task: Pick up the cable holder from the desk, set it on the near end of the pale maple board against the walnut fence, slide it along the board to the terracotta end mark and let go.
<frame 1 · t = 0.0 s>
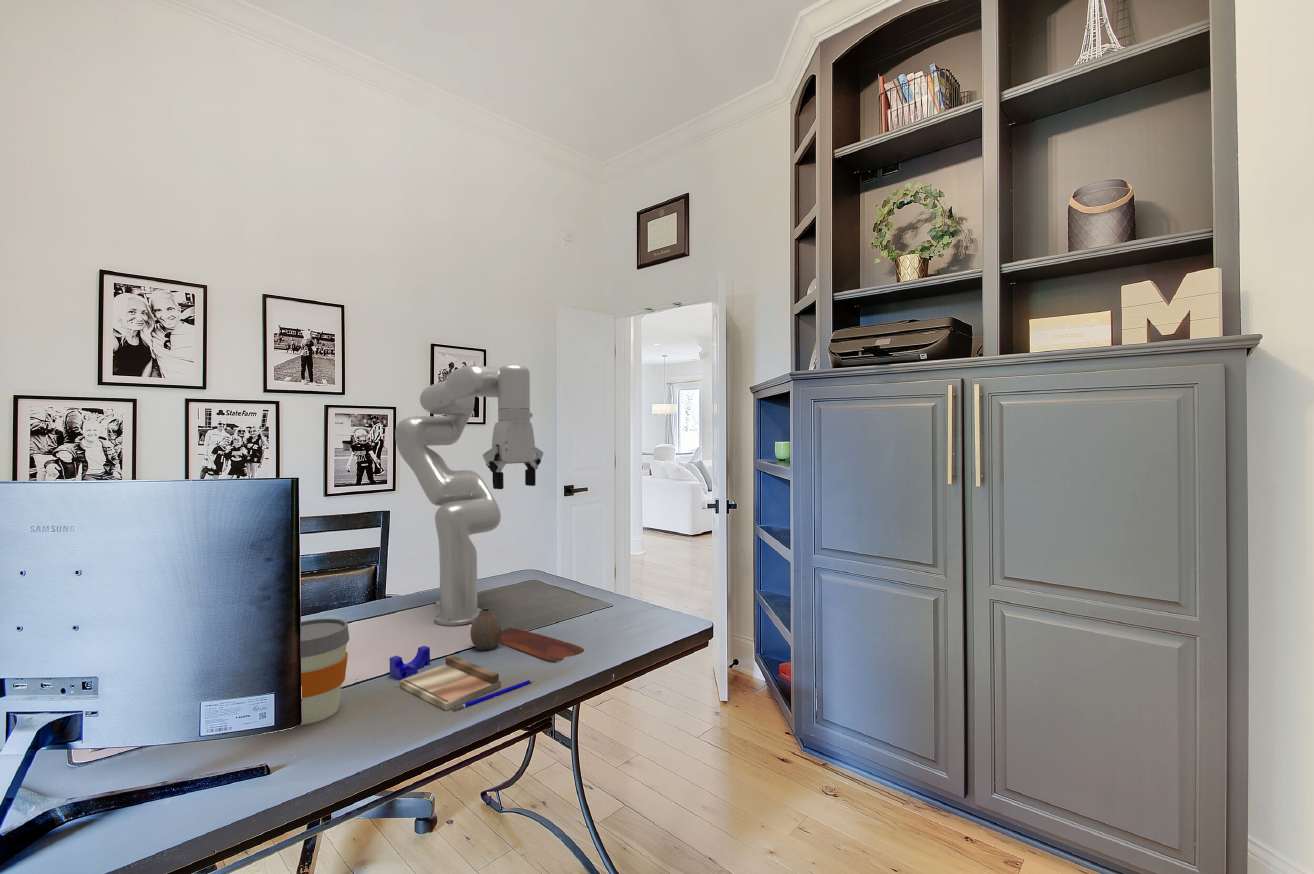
hand: (514, 487, 138), 37 cm above the table, tool pointing down, fingers open, 9 cm apart
pencil: (495, 698, 108), on the table
vase: (486, 647, 133), on the table
reusable coffee cup: (310, 713, 102), on the table
wooden tablet: (532, 646, 135), on the table
cable holder: (412, 673, 120), on the table
maple board: (450, 686, 112), on the table
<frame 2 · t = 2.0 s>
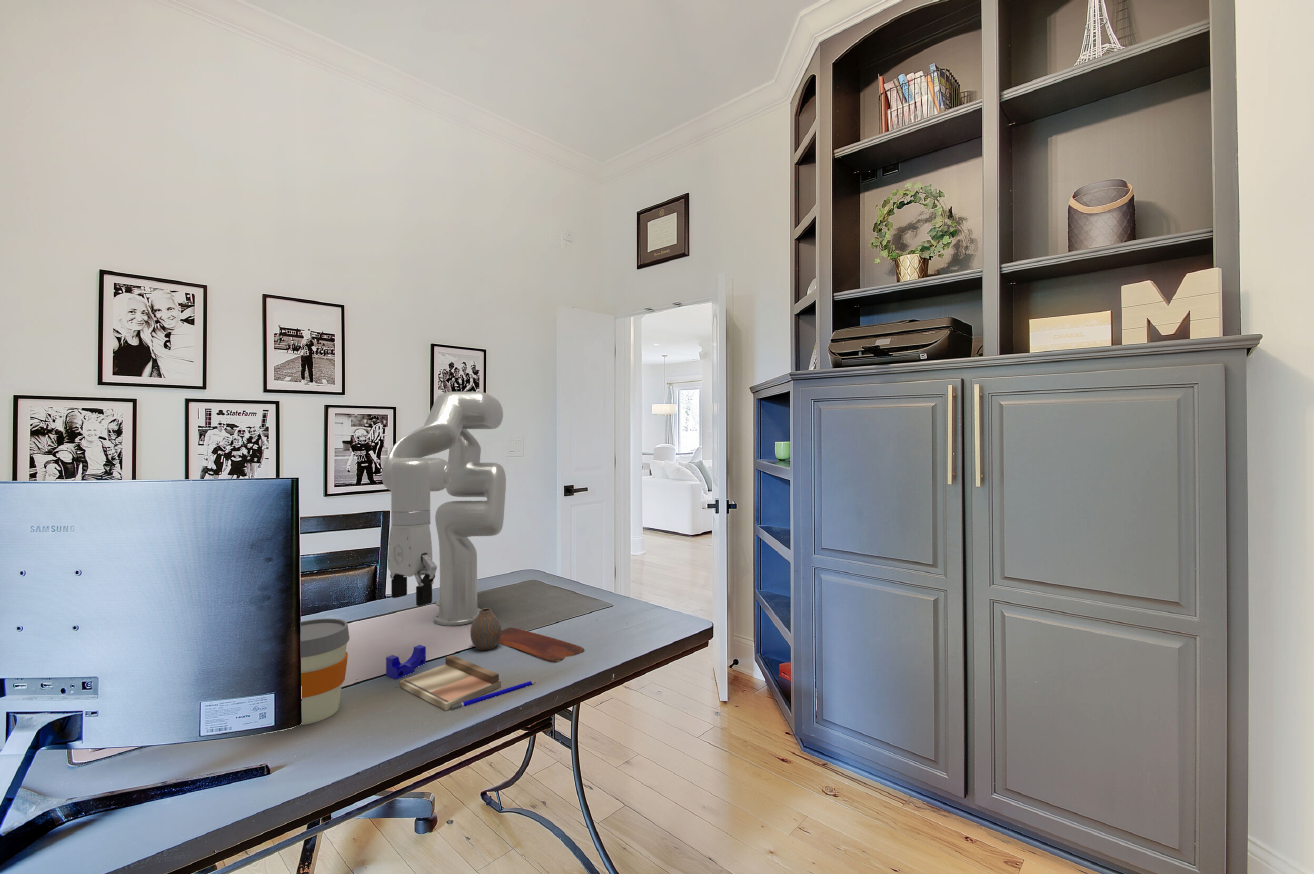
hand: (411, 600, 119), 15 cm above the table, tool pointing down, fingers open, 9 cm apart
cable holder: (408, 672, 120), on the table
everything else where it was.
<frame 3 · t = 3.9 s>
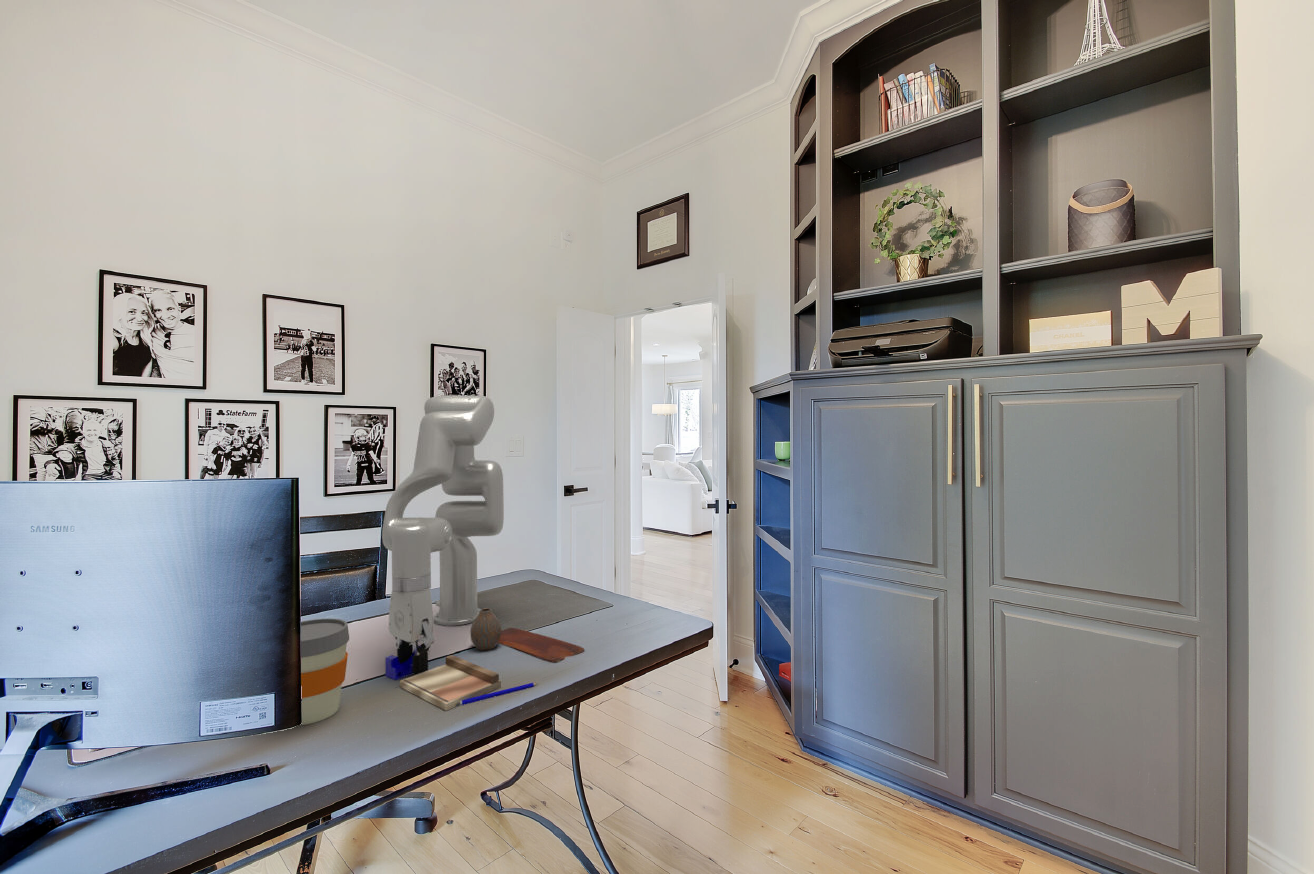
hand: (412, 667, 120), 1 cm above the table, tool pointing down, fingers open, 5 cm apart
cable holder: (408, 672, 120), on the table, touching gripper
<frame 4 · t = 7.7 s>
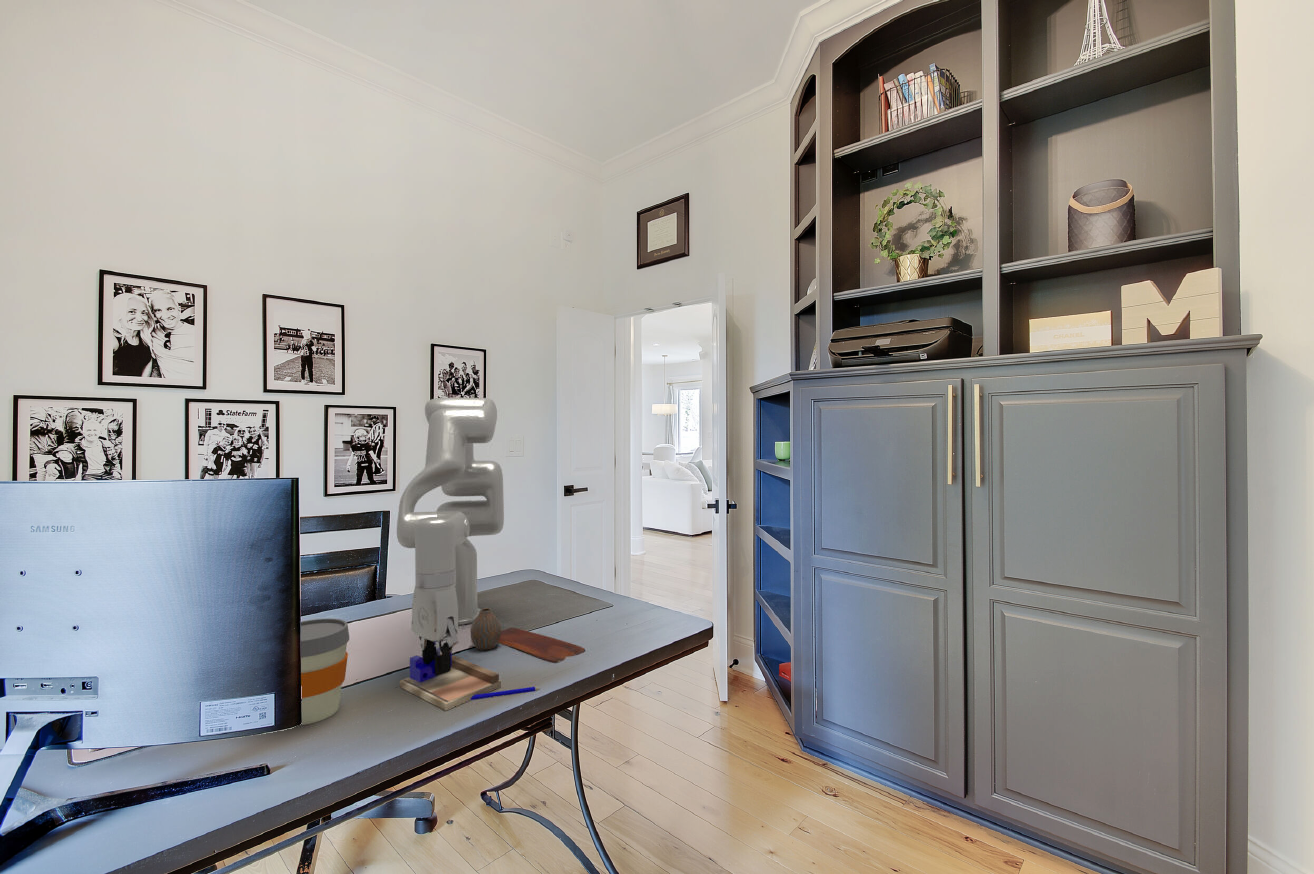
hand: (436, 669, 114), 3 cm above the table, tool pointing down, fingers closed on cable holder, 3 cm apart
cable holder: (433, 674, 114), point 2 cm above the table, touching gripper
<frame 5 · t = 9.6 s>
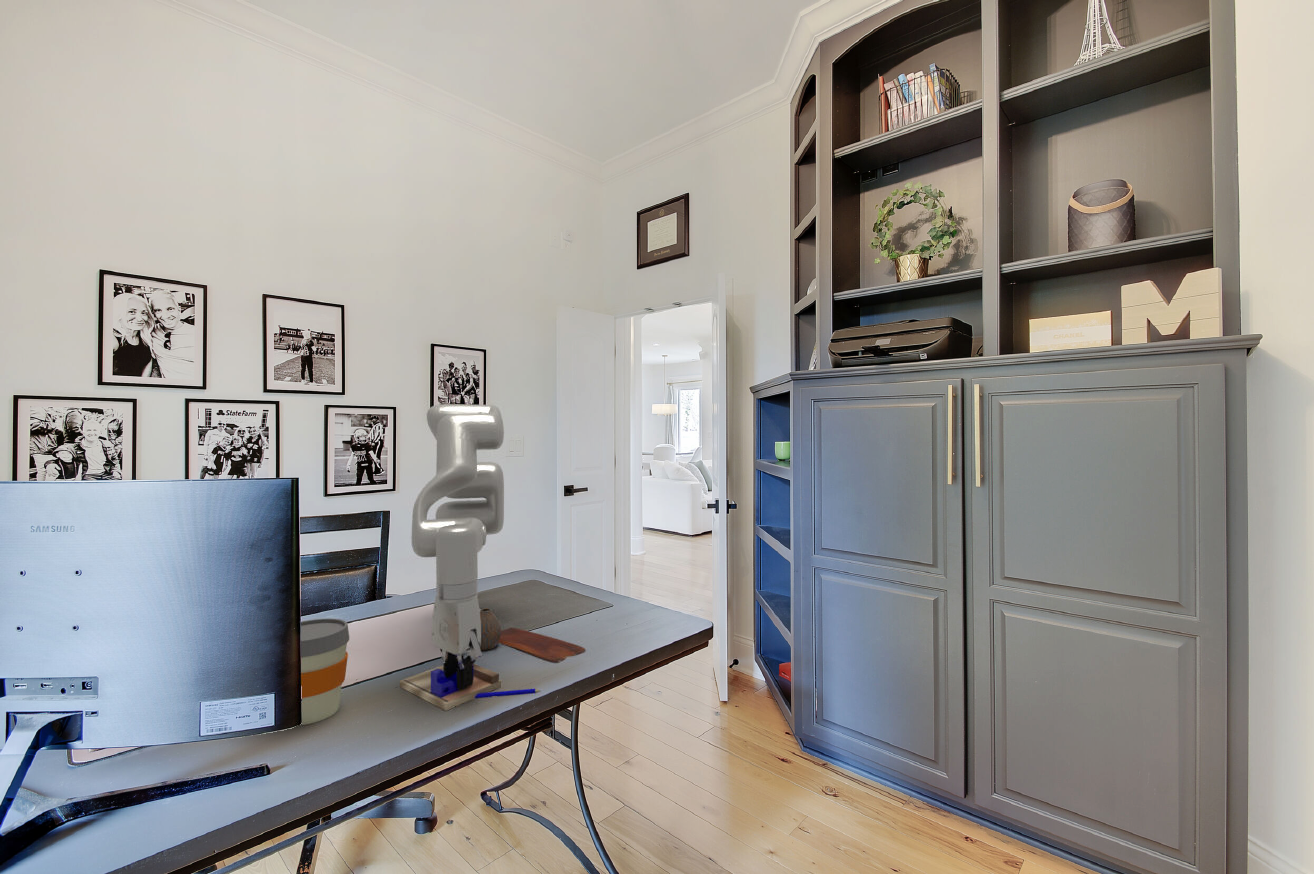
hand: (458, 682, 110), 2 cm above the table, tool pointing down, fingers closed on cable holder, 3 cm apart
cable holder: (454, 688, 109), point 1 cm above the table, touching gripper
when the fingers open (2 cm above the table, at t = 10.9 s): cable holder stays where it is, resting on maple board.
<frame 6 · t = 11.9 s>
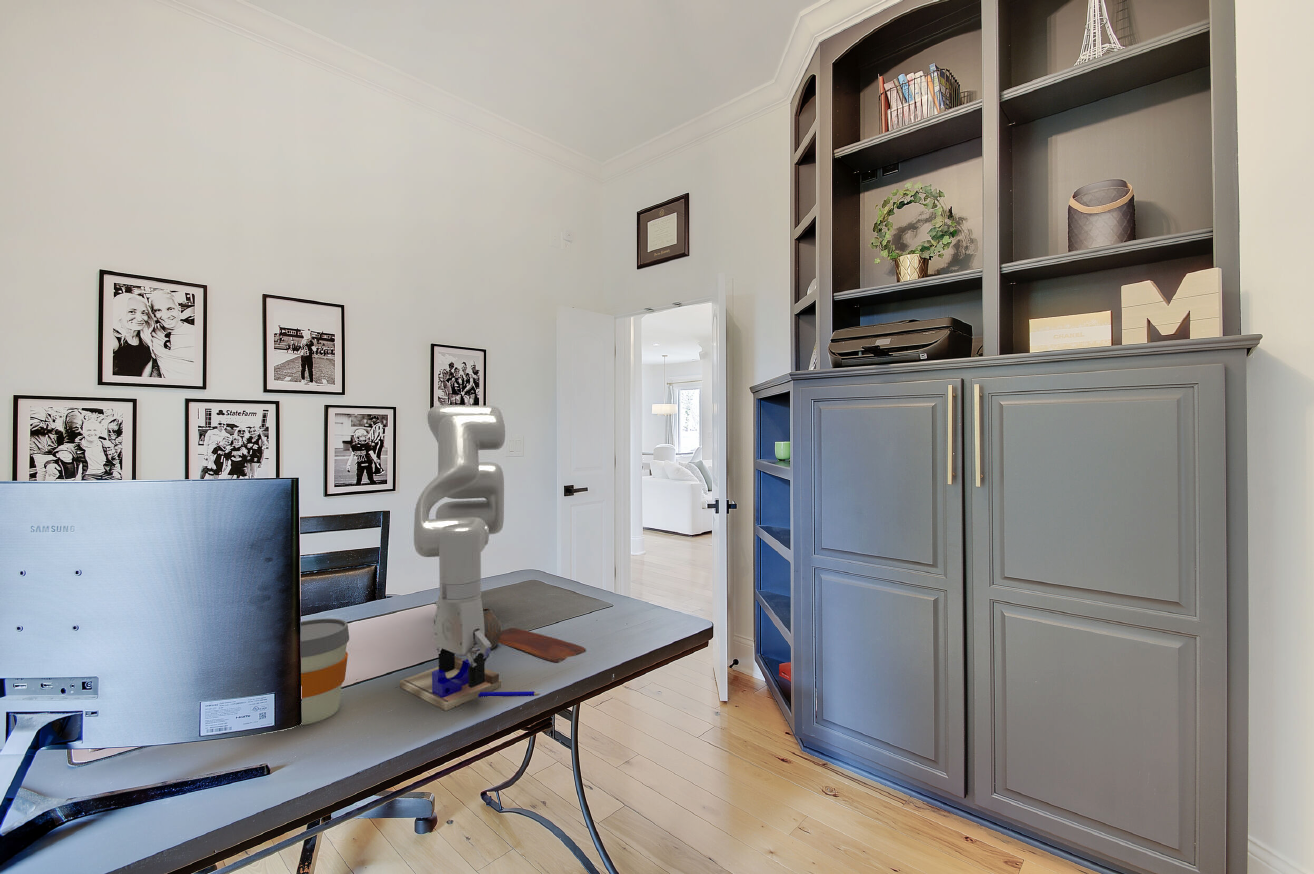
hand: (461, 677, 109), 3 cm above the table, tool pointing down, fingers open, 9 cm apart
cable holder: (456, 688, 109), point 1 cm above the table, touching maple board
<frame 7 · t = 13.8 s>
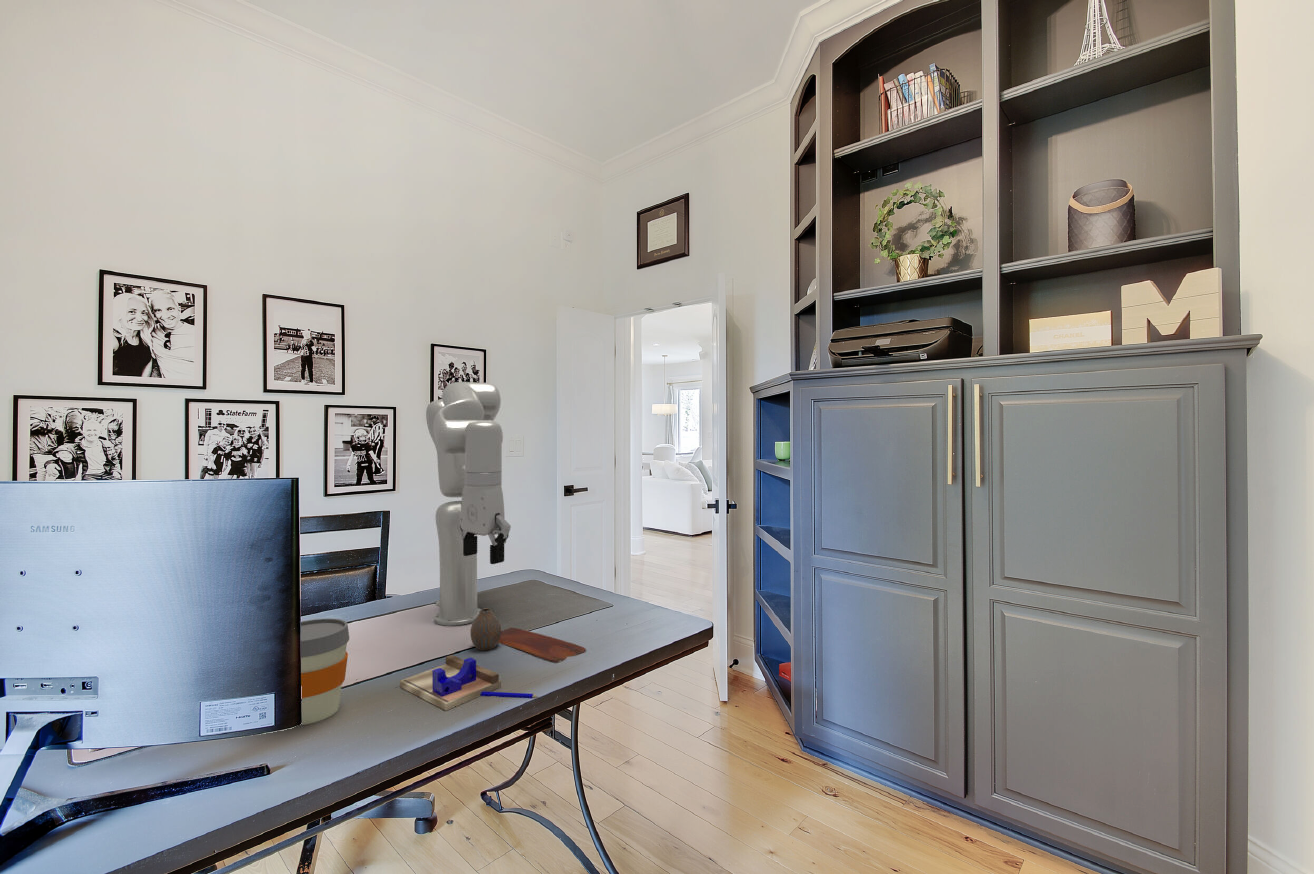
hand: (483, 558, 122), 23 cm above the table, tool pointing down, fingers open, 9 cm apart
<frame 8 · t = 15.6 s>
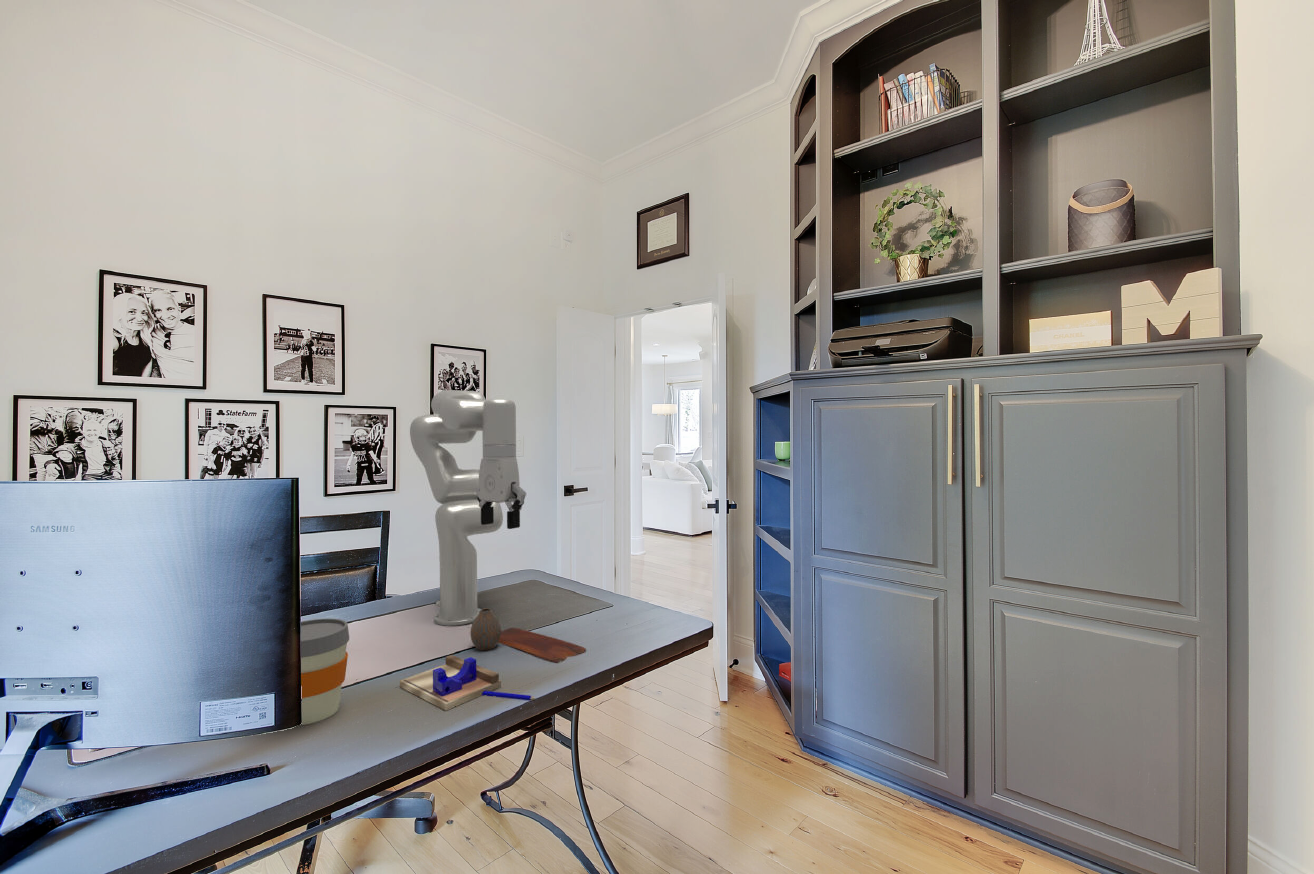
hand: (500, 526, 132), 28 cm above the table, tool pointing down, fingers open, 9 cm apart
at the end: cable holder 1.4 cm from the target spot on the maple board, point 1.0 cm above the maple board's base; cable holder tilted 0°; the gripper is holding nothing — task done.
